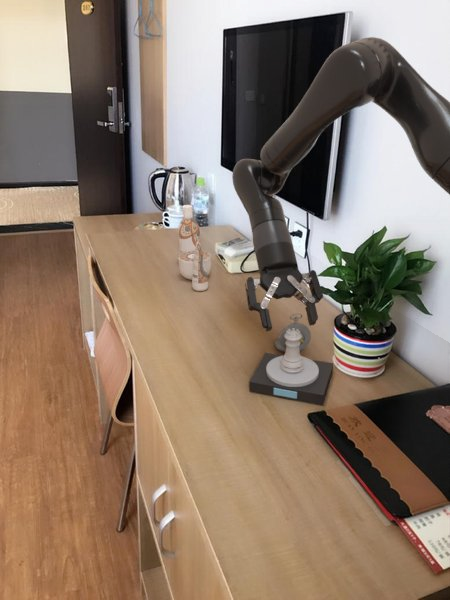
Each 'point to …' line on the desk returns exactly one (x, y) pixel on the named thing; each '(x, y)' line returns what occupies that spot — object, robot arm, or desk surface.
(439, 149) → the robot arm
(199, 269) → the cosmetic set
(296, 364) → the rook chess piece
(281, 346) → the pocket watch
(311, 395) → the scale
